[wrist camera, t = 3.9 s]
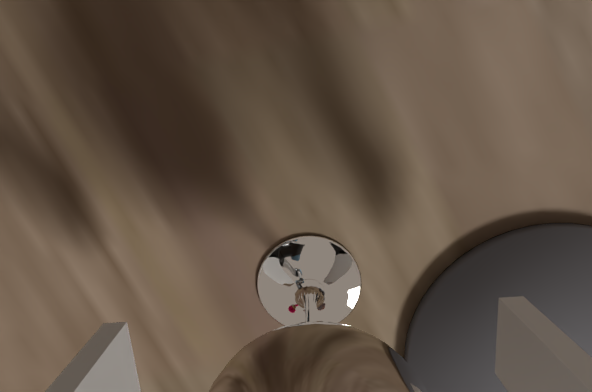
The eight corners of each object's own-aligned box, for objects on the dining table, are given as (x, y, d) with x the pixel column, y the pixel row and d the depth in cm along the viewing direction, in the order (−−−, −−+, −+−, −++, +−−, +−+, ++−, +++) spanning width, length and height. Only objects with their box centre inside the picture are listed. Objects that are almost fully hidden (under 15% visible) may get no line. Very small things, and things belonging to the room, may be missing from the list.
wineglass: (333, 363, 18) (397, 850, 6) (219, 308, 17) (59, 738, 6) (402, 259, 17) (635, 630, 5) (281, 195, 16) (237, 455, 5)
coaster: (402, 233, 17) (406, 238, 16) (700, 212, 16) (715, 217, 16) (405, 466, 19) (408, 478, 19) (657, 452, 19) (668, 464, 19)
